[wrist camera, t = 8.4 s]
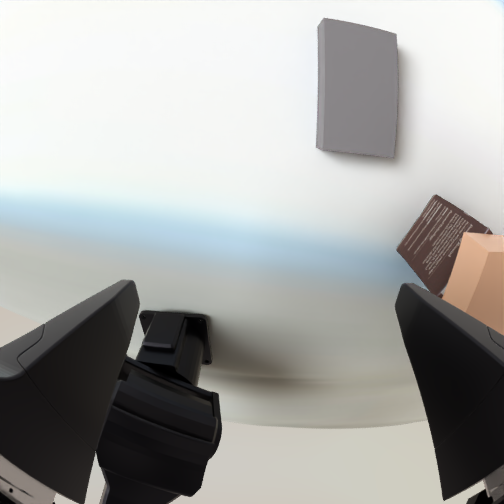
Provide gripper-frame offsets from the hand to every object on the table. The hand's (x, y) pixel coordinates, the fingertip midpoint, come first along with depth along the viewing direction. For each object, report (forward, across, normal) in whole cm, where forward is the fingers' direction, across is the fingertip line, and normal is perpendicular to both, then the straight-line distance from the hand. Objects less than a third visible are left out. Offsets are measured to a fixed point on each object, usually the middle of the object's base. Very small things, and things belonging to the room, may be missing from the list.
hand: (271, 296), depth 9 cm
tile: (+5, -15, +3) cm, 16 cm away
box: (+12, -15, +3) cm, 20 cm away
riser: (+12, -6, -8) cm, 16 cm away
